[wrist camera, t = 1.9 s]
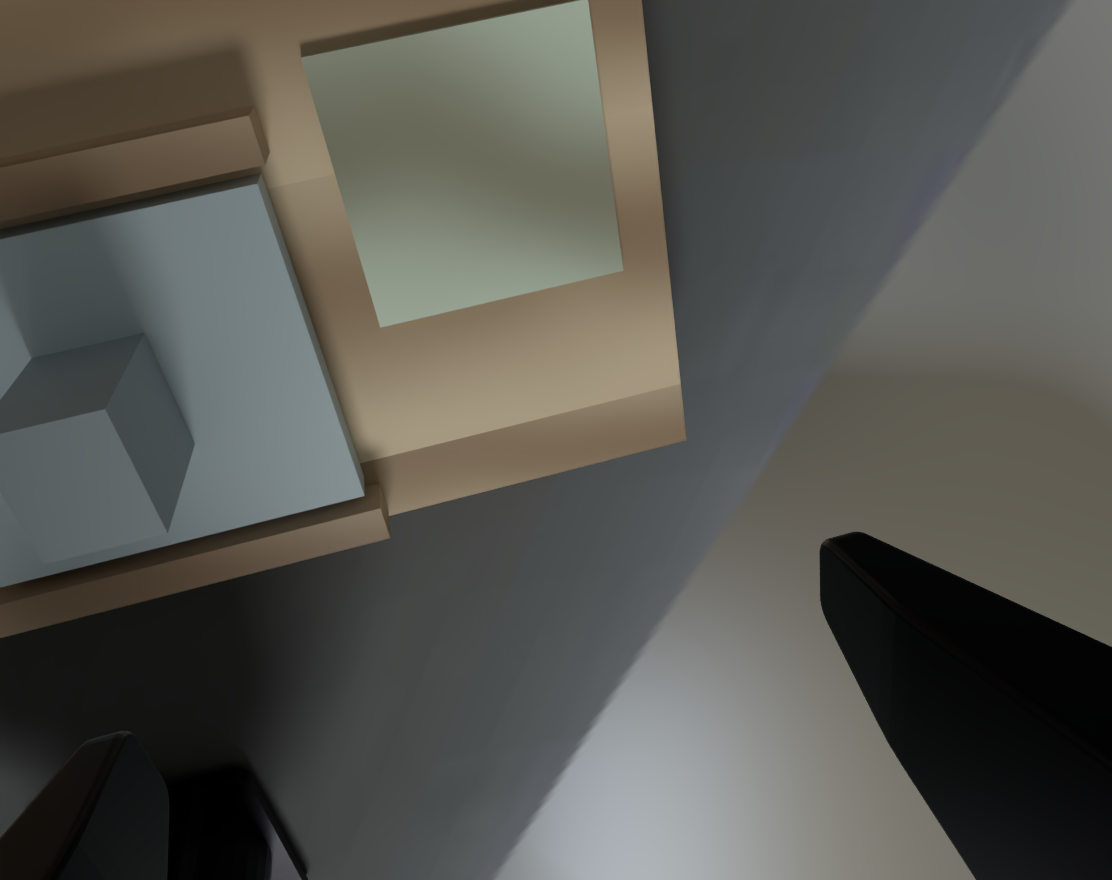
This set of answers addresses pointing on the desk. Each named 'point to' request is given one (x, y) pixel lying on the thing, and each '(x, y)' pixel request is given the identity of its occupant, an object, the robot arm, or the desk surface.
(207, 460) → the lid
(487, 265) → the puzzle board
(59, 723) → the desk surface
